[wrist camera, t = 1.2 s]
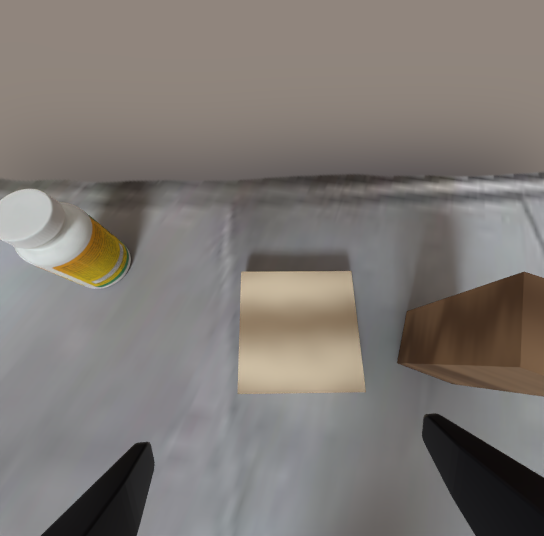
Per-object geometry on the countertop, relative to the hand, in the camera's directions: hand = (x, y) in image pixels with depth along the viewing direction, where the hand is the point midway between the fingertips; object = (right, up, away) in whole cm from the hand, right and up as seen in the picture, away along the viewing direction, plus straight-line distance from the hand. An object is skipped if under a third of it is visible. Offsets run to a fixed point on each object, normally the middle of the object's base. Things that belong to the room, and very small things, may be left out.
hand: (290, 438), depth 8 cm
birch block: (+2, 0, +16) cm, 16 cm away
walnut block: (+14, -2, +15) cm, 21 cm away
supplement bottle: (-17, +6, +18) cm, 26 cm away
